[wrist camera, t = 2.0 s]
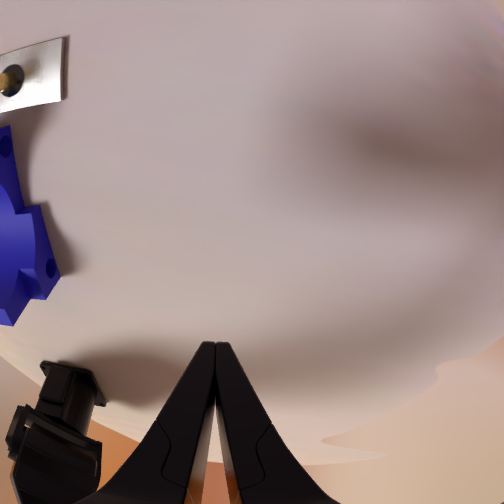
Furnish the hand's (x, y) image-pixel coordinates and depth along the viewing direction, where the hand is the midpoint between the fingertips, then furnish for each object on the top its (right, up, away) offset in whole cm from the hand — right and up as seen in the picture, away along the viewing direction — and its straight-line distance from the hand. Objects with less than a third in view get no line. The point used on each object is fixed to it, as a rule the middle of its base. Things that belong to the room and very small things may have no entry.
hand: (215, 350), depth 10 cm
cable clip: (-16, +6, +8) cm, 19 cm away
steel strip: (-18, +14, +3) cm, 23 cm away
